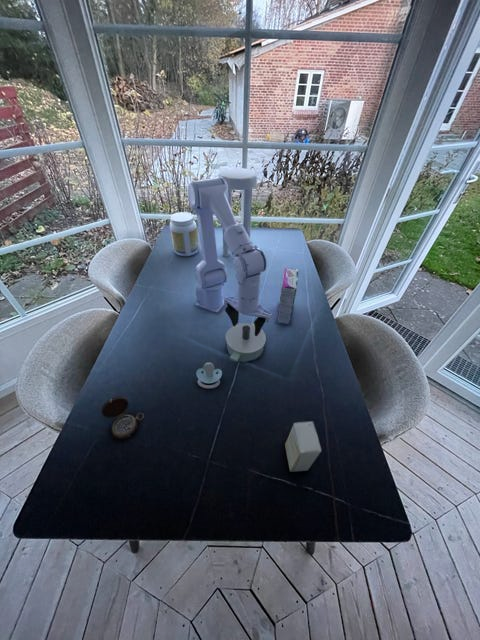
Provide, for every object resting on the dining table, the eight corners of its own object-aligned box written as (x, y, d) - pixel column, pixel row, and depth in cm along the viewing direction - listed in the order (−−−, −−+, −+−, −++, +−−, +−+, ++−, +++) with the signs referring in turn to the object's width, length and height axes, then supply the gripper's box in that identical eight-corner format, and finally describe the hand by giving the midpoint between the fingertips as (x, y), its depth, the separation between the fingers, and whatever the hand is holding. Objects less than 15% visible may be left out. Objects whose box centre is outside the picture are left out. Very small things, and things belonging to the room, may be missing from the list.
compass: (116, 445, 63) (106, 431, 58) (106, 419, 68) (96, 404, 63) (149, 425, 66) (142, 411, 61) (137, 402, 71) (130, 387, 66)
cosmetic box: (284, 444, 64) (292, 421, 55) (302, 443, 64) (313, 420, 56) (290, 473, 59) (299, 452, 51) (309, 471, 60) (322, 451, 51)
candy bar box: (278, 303, 102) (284, 267, 91) (291, 305, 101) (299, 269, 90) (275, 323, 94) (281, 286, 83) (289, 325, 93) (297, 288, 82)
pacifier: (220, 390, 74) (222, 372, 79) (220, 378, 70) (222, 359, 74) (194, 388, 75) (198, 370, 79) (192, 376, 70) (196, 358, 74)
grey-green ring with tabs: (216, 359, 82) (216, 350, 79) (240, 325, 93) (240, 316, 90) (250, 373, 78) (251, 364, 75) (271, 336, 90) (272, 327, 87)
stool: (224, 242, 137) (222, 166, 112) (253, 245, 135) (258, 168, 111) (218, 258, 125) (215, 177, 101) (250, 261, 124) (255, 179, 100)
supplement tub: (195, 243, 136) (191, 209, 124) (202, 254, 128) (199, 219, 116) (171, 247, 132) (165, 213, 120) (177, 259, 124) (171, 224, 112)
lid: (217, 344, 81) (217, 332, 78) (238, 320, 89) (239, 309, 86) (253, 361, 77) (254, 350, 73) (272, 334, 85) (274, 323, 81)
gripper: (279, 294, 70) (273, 330, 80) (233, 277, 76) (232, 312, 85) (267, 309, 66) (262, 345, 75) (219, 290, 71) (220, 325, 81)
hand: (246, 328), depth 80 cm, fingers open, 7 cm apart
